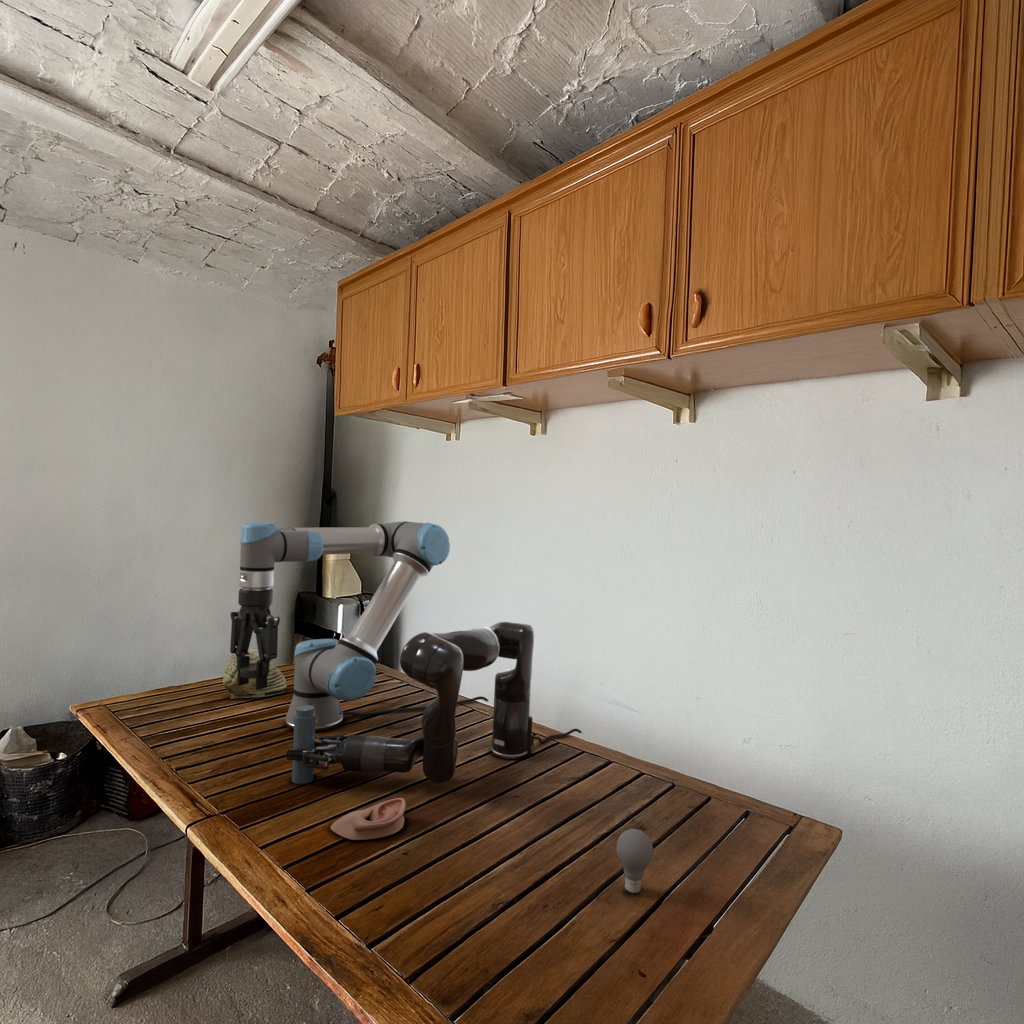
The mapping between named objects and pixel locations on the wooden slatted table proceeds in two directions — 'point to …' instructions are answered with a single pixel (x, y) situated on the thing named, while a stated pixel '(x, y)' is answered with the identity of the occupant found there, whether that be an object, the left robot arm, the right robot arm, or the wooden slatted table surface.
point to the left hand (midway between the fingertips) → (252, 686)
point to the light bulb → (634, 857)
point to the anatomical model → (372, 821)
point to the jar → (303, 742)
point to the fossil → (252, 679)
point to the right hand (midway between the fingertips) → (291, 749)
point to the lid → (248, 671)
